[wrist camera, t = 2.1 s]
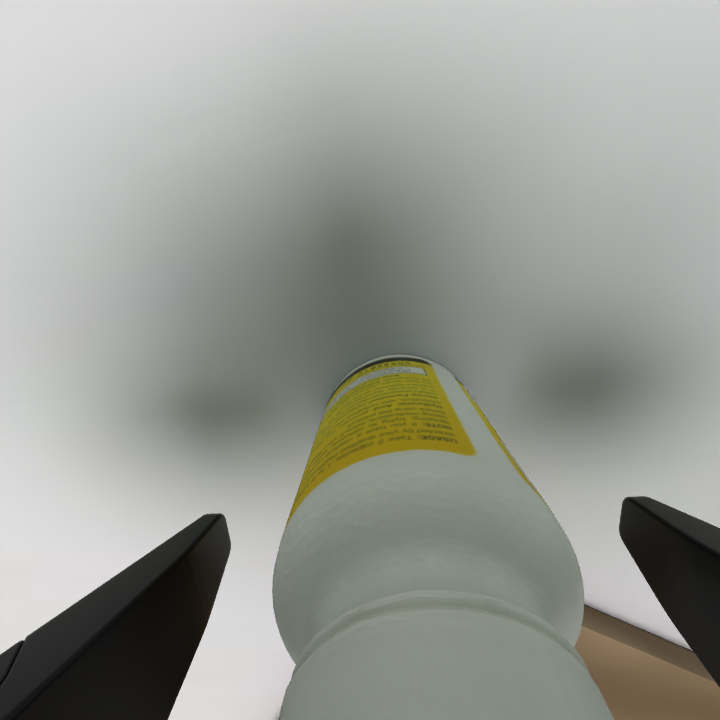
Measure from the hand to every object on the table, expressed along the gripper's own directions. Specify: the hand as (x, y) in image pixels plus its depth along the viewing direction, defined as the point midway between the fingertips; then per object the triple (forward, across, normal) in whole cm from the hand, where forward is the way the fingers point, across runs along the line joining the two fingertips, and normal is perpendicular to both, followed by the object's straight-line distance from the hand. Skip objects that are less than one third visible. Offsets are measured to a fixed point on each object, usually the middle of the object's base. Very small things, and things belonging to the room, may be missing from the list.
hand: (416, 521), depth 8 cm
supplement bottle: (+5, 0, 0) cm, 5 cm away
